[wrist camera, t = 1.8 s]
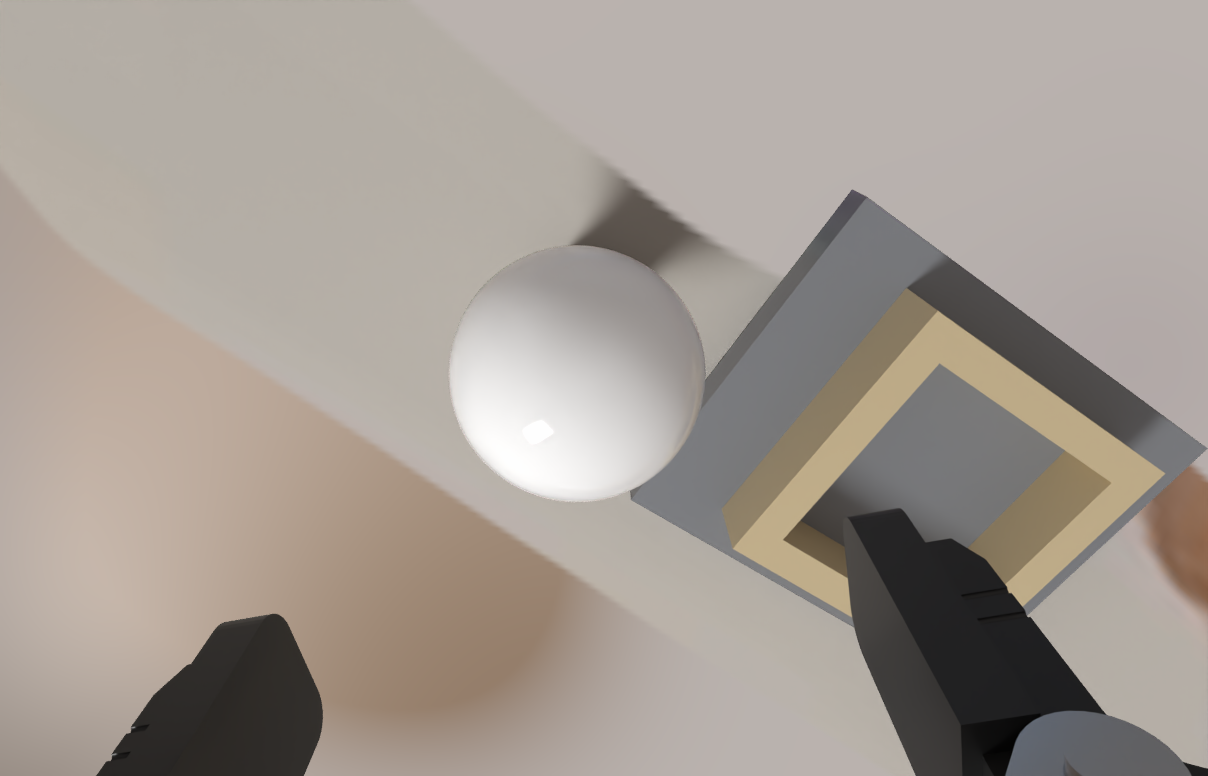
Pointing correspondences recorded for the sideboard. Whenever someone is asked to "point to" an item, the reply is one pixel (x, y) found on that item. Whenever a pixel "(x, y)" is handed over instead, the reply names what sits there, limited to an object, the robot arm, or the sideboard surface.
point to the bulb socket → (909, 424)
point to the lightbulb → (576, 373)
